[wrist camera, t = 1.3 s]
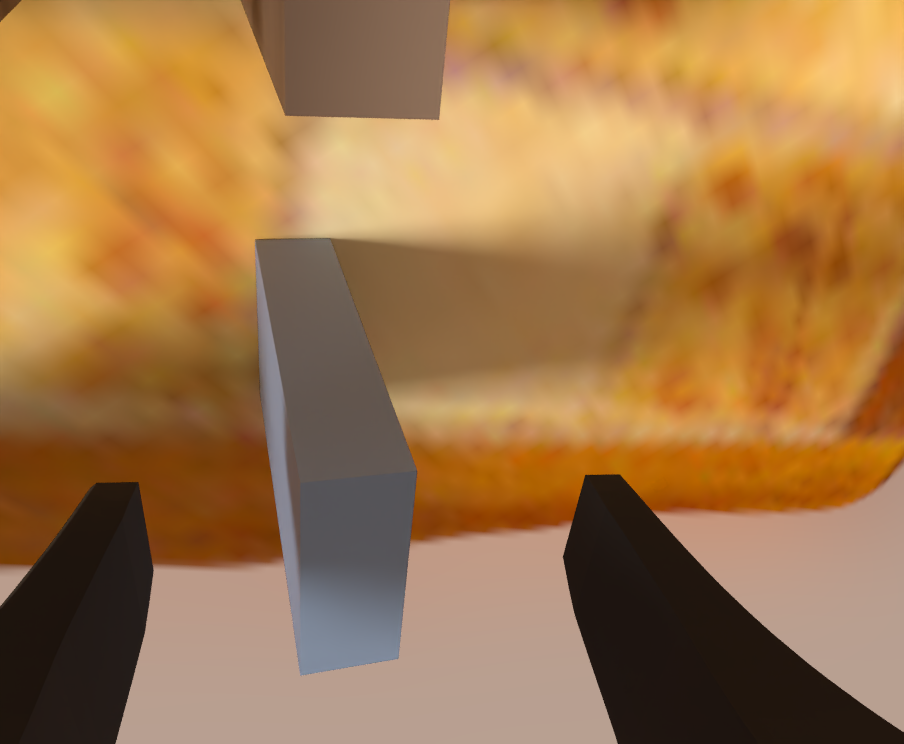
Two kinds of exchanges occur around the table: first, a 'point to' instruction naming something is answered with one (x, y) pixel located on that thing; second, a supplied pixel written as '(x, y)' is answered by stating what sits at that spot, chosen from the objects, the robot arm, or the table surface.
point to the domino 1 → (7, 7)
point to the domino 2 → (353, 55)
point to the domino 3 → (331, 460)
